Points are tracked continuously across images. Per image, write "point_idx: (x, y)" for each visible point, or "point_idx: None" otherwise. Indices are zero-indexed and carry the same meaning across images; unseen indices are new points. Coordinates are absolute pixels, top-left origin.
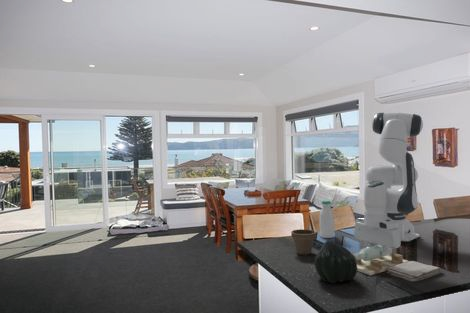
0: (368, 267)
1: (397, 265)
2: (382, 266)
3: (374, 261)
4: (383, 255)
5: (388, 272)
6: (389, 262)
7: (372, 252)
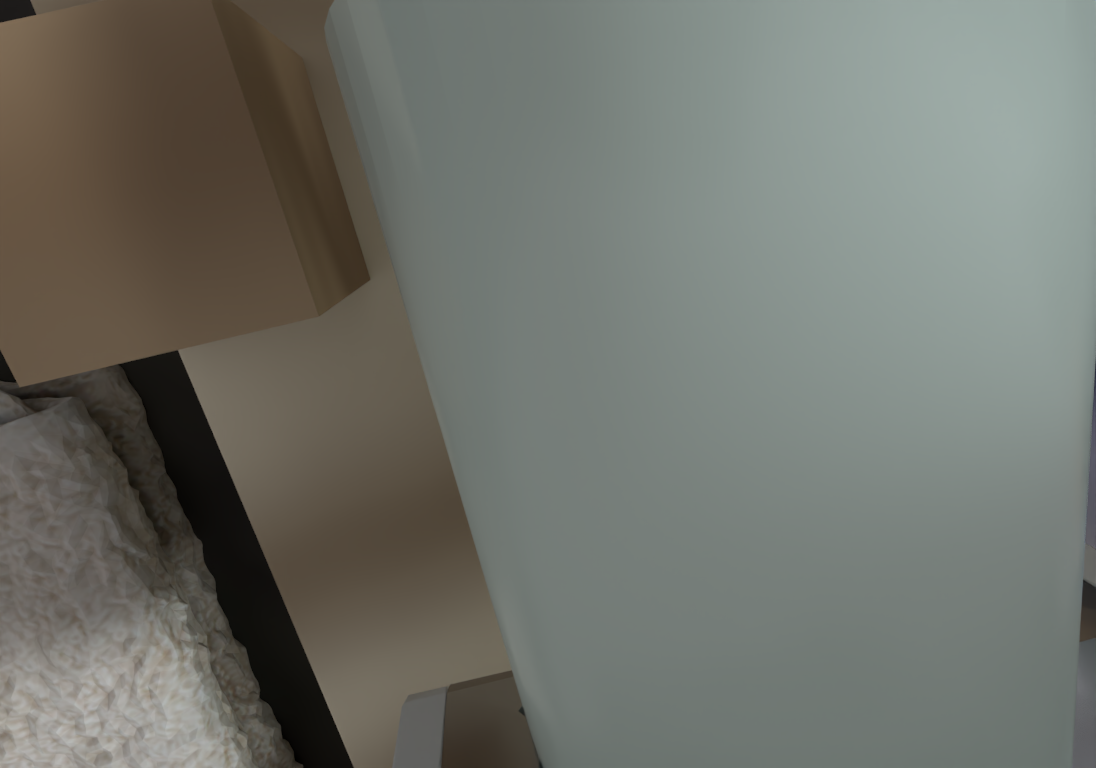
0: None
1: (138, 731)
2: (332, 447)
3: (49, 71)
4: (408, 730)
5: (52, 380)
6: None
7: (442, 338)
